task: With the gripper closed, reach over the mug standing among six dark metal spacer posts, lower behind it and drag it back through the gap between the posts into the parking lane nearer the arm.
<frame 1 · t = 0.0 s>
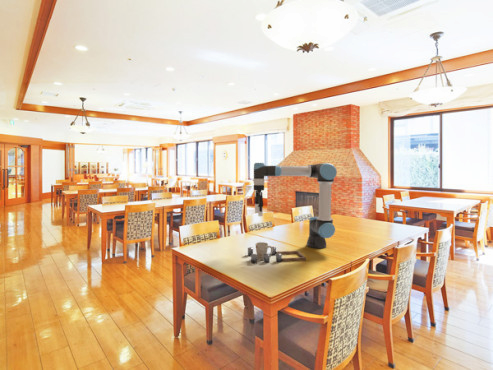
hand: (258, 214, 195), 28 cm above the table, fingers open, 13 cm apart
mug: (264, 258, 186), on the table
spacer field: (264, 258, 186), on the table
parking lane: (289, 257, 188), on the table
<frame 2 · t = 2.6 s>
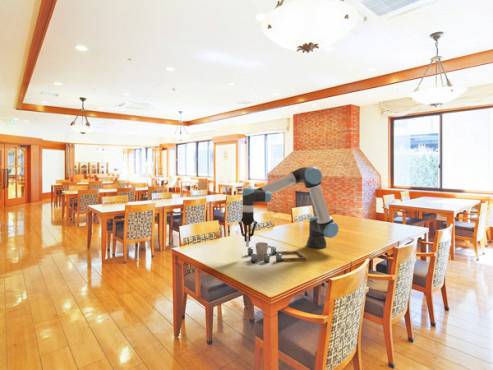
hand: (247, 246, 184), 9 cm above the table, fingers closed
nothing on the table moved.
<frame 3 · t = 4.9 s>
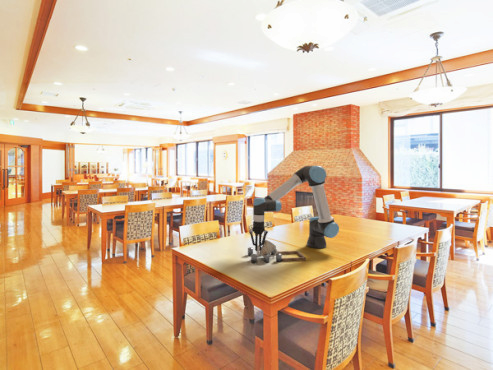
hand: (257, 255, 185), 2 cm above the table, fingers closed
mug: (265, 257, 186), point 1 cm above the table, touching gripper, hand
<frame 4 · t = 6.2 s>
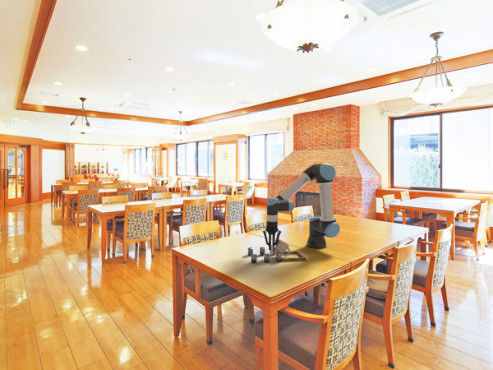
hand: (271, 255, 187), 2 cm above the table, fingers closed
mug: (278, 256, 188), point 1 cm above the table, touching gripper, hand
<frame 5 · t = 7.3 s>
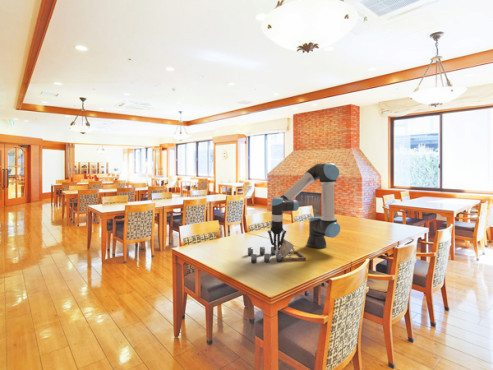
hand: (276, 254, 187), 2 cm above the table, fingers closed
mug: (283, 256, 188), point 1 cm above the table, touching gripper
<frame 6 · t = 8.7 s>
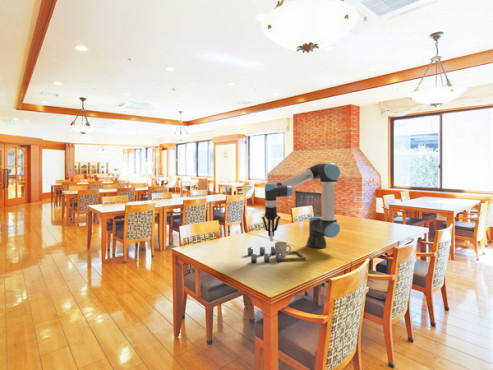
hand: (271, 240, 186), 12 cm above the table, fingers closed
mug: (283, 257, 188), on the table
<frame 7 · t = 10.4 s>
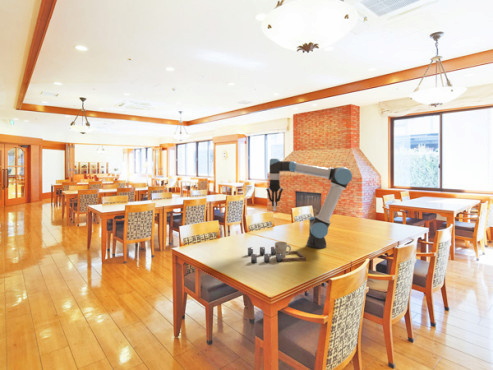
hand: (274, 210, 207), 29 cm above the table, fingers closed
nothing on the table moved.
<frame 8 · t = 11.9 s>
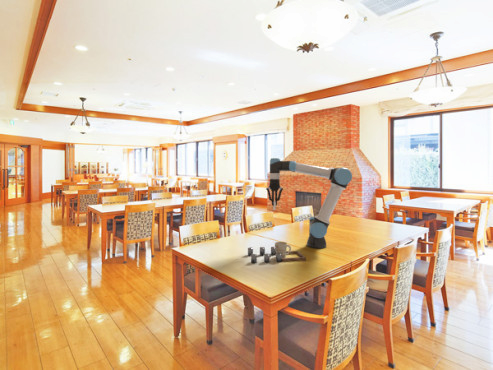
hand: (274, 209, 208), 29 cm above the table, fingers closed
nothing on the table moved.
at the end: mug inside the target area (2.8 cm from its centre), on the table; mug tilted 0°; mug moved 13.2 cm from its start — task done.
